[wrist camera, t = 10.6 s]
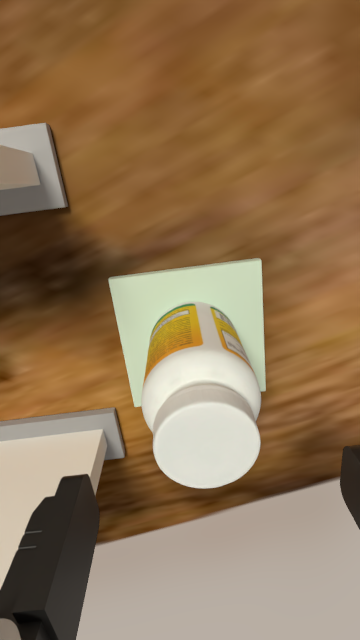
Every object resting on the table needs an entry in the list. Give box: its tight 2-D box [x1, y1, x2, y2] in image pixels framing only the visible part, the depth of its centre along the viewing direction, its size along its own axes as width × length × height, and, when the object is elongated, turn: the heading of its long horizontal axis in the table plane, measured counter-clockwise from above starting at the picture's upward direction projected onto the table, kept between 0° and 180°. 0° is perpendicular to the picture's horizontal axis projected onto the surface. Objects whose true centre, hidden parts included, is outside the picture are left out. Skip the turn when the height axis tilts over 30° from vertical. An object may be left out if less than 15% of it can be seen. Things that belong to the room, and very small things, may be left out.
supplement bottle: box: [141, 302, 261, 489], centre depth 17 cm, size 5×5×10 cm
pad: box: [108, 258, 266, 407], centre depth 21 cm, size 9×9×1 cm
